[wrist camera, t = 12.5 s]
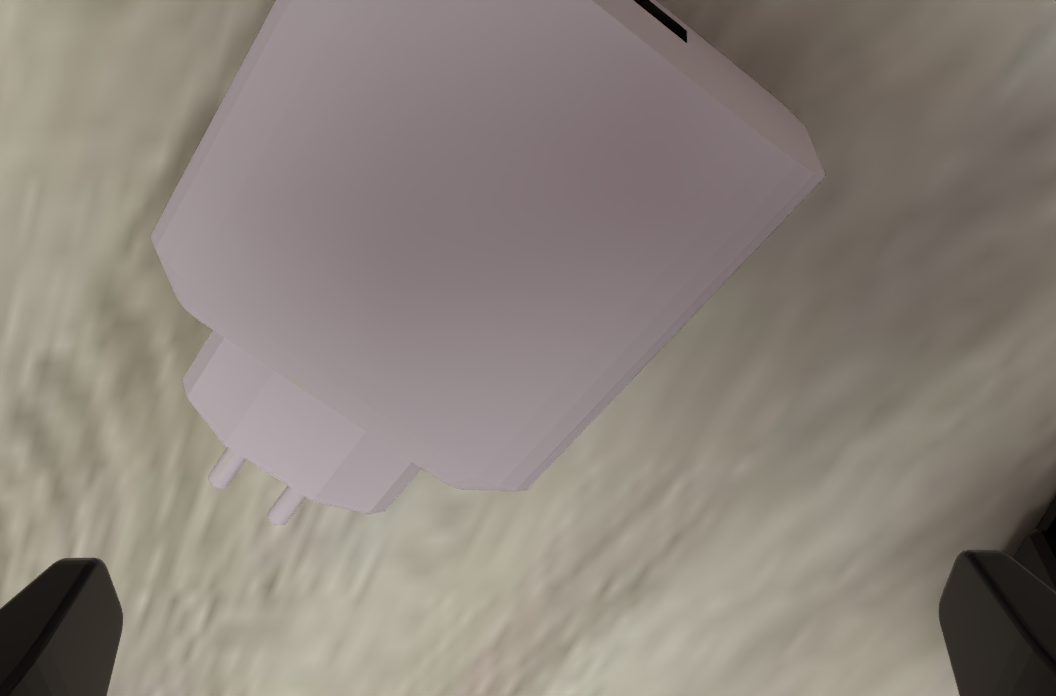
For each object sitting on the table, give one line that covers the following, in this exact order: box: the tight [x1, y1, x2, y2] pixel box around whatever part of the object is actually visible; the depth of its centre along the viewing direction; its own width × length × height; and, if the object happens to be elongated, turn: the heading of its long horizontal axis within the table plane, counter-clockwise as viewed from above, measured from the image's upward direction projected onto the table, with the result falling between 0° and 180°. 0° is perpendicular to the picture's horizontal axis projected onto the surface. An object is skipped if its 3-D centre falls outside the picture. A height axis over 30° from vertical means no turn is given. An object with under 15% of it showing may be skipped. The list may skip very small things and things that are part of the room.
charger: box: [151, 0, 826, 526], centre depth 20 cm, size 5×9×15 cm
